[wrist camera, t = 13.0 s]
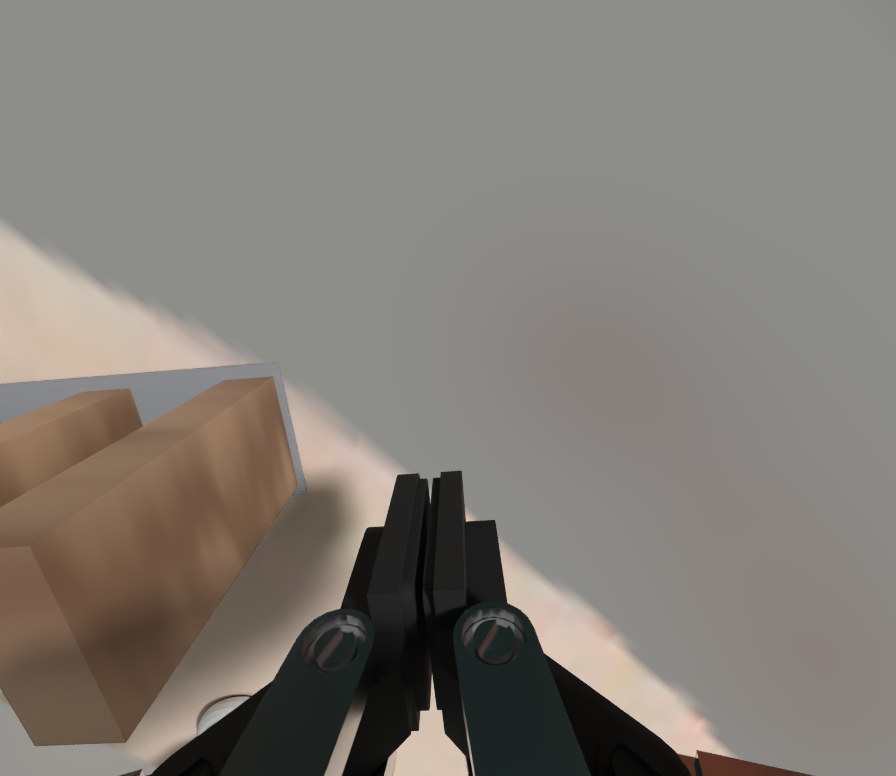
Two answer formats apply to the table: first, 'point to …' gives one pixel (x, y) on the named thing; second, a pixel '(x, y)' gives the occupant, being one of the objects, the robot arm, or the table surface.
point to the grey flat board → (149, 394)
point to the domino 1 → (61, 437)
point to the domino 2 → (134, 560)
